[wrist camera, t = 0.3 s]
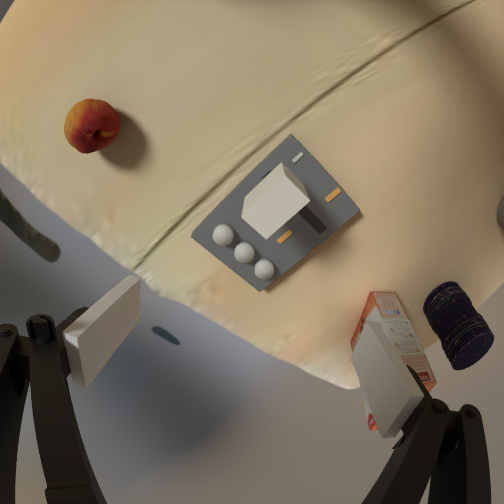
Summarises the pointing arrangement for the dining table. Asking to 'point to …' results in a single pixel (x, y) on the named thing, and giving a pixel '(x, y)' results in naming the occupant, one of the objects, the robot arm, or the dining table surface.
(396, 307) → the cracker box
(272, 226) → the block
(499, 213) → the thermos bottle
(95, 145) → the fruit
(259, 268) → the console
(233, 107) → the dining table surface
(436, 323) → the black striped canister
